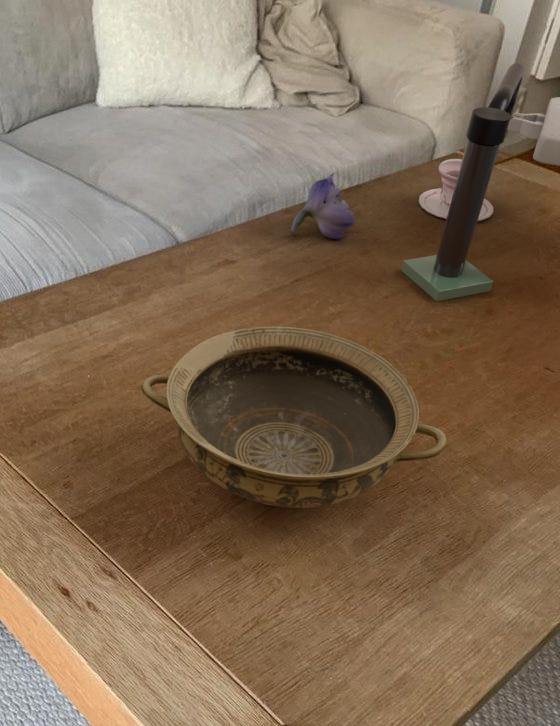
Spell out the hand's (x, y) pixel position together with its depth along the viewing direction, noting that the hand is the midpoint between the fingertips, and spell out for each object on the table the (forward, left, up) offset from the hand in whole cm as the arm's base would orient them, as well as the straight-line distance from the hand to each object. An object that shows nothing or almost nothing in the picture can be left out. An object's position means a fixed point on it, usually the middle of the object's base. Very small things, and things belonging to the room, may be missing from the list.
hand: (509, 121), depth 123 cm
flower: (+29, -1, -15) cm, 33 cm away
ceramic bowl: (+59, +45, -15) cm, 76 cm away
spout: (+10, +8, -2) cm, 13 cm away
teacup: (+3, -3, -15) cm, 15 cm away
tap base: (+19, +17, -15) cm, 29 cm away
